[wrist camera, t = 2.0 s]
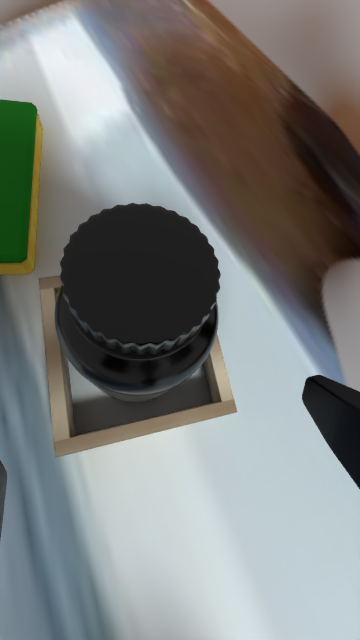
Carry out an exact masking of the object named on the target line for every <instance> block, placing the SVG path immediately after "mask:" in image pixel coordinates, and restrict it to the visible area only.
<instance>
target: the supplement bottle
mask: <svg viewBox="0 0 360 640" xmlns="http://www.w3.org/2000/svg"><path fill="white" fill-rule="evenodd" d="M60 265H61V269H62V272H61V275H60V281H61V283H62V285H61V287H60V289H59V292H58V295H57V299H56V304H55V313H54V316H55V329H56V333H57V337H58V340H59V343H60V346H61V348H62V350H63V352H64V353H65V355H66V357H67V358H68V360H69V361H70V362H71V364H72V365H73V366H74V367H75V369H76V370H77V371H78V372H79V373H80V374H81V375H83V376H84V377H85V378H86V379H88V380H89V381H90V382H91V383H93V384H94V385H95V386H96V387H98V388H99V389H100V390H102V391H103V392H104V393H106V394H108V395H109V396H111V397H113V398H116V399H119V400H122V401H127V402H142V401H147V400H151V399H154V398H156V397H159V396H161V395H162V394H164V393H166V392H167V391H169V390H171V389H172V388H174V387H175V386H177V385H179V384H180V383H182V382H183V381H185V380H186V379H187V378H189V377H190V376H191V375H192V374H193V373H194V372H195V371H196V370H197V369H198V368H199V367H200V366H201V365H202V363H203V362H204V361H205V359H206V358H207V356H208V354H209V353H210V351H211V349H212V347H213V344H214V341H215V338H216V334H217V329H218V305H217V301H216V298H217V297H216V295H217V293H218V292H219V290H220V285H219V278H220V275H221V274H220V271H219V269H218V259H217V258H216V257H215V255H214V248H213V247H212V246H211V245H210V244H209V243H208V239H207V237H206V236H205V235H204V234H202V233H201V232H200V230H199V228H198V226H196V225H194V224H192V223H191V222H190V221H189V220H188V219H187V218H186V217H183V216H179V215H178V214H177V213H176V212H175V211H171V210H166V209H165V208H163V207H161V206H152V205H149V204H140V205H138V204H134V203H131V204H128V205H117V206H115V207H113V208H111V209H103V210H102V211H101V212H100V213H99V214H96V215H92V216H91V217H90V218H89V219H88V221H87V222H85V223H82V224H80V225H79V227H78V230H77V231H76V232H75V233H73V234H72V235H71V236H70V241H69V243H68V244H67V245H66V247H65V248H64V257H63V258H62V260H61V262H60Z"/></svg>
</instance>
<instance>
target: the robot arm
mask: <svg viewBox="0 0 360 640" xmlns="http://www.w3.org/2000/svg"><path fill="white" fill-rule="evenodd" d="M302 400H303V403H304V405H305V407H306V408H307V410H308V412H309V413H310V415H311V417H312V419H313V420H314V422H315V424H316V425H317V427H318V429H319V430H320V432H321V434H322V435H323V437H324V439H325V440H326V442H327V444H328V445H329V447H330V448H331V450H332V451H333V453H334V454H335V456H336V457H337V458H338V460H339V461H340V462H341V464H342V465H343V467H344V468H345V469H346V471H347V472H348V474H349V475H350V476H351V478H352V479H353V481H354V482H355V483H356V485H357V486H358V487H359V489H360V392H359V391H357V390H354V389H352V388H350V387H347V386H345V385H343V384H340V383H338V382H336V381H333V380H331V379H329V378H326V377H324V376H321V375H315V376H311V377H308V378H307V379H306V382H305V386H304V390H303V394H302ZM6 485H7V473H6V470H5V468H4V466H3V464H2V462H1V461H0V539H1V531H2V522H3V513H4V503H5V494H6Z"/></svg>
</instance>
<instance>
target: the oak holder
mask: <svg viewBox="0 0 360 640" xmlns="http://www.w3.org/2000/svg"><path fill="white" fill-rule="evenodd" d="M39 285H40V296H41V307H42V318H43V329H44V340H45V351H46V361H47V372H48V383H49V394H50V405H51V416H52V427H53V438H54V449H55V458H56V457H60V456H64V455H68V454H72V453H76V452H80V451H84V450H88V449H92V448H96V447H100V446H104V445H108V444H112V443H116V442H120V441H124V440H128V439H132V438H136V437H140V436H144V435H148V434H152V433H156V432H160V431H164V430H168V429H172V428H176V427H180V426H184V425H188V424H192V423H196V422H200V421H204V420H208V419H212V418H216V417H220V416H224V415H228V414H232V413H236V412H237V409H236V405H235V401H234V397H233V394H232V390H231V386H230V382H229V378H228V374H227V370H226V367H225V363H224V359H223V355H222V351H221V347H220V343H219V340H218V336H217V334H216V338H215V341H214V344H213V347H212V349H211V351H210V353H209V354H208V356H207V358H206V359H205V361H204V362H203V363H204V367H205V371H206V376H207V380H208V384H209V388H210V392H211V396H212V401H213V403H209V404H205V405H200V406H196V407H192V408H188V409H183V410H179V411H175V412H171V413H167V414H162V415H158V416H154V417H150V418H145V419H141V420H137V421H133V422H129V423H124V424H120V425H116V426H112V427H107V428H103V429H99V430H95V431H90V432H86V433H82V434H78V435H76V432H75V423H74V414H73V405H72V396H71V387H70V378H69V369H68V360H67V357H66V355H65V353H64V352H63V350H62V348H61V346H60V343H59V340H58V337H57V333H56V329H55V316H54V313H55V304H56V299H57V295H58V292H59V289H60V287H61V285H62V283H61V281H60V276H54V277H45V278H39Z"/></svg>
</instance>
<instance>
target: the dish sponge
mask: <svg viewBox="0 0 360 640" xmlns="http://www.w3.org/2000/svg"><path fill="white" fill-rule="evenodd" d="M42 131H43V128H42V125H41V122H40V118H39V115H38V114H37V108H36V106H35V105H33V104H32V103H28V102H18V101H9V100H0V274H29V273H30V272H32V271H33V270H34V265H35V248H36V232H37V215H38V198H39V181H40V165H41V148H42Z"/></svg>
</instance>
